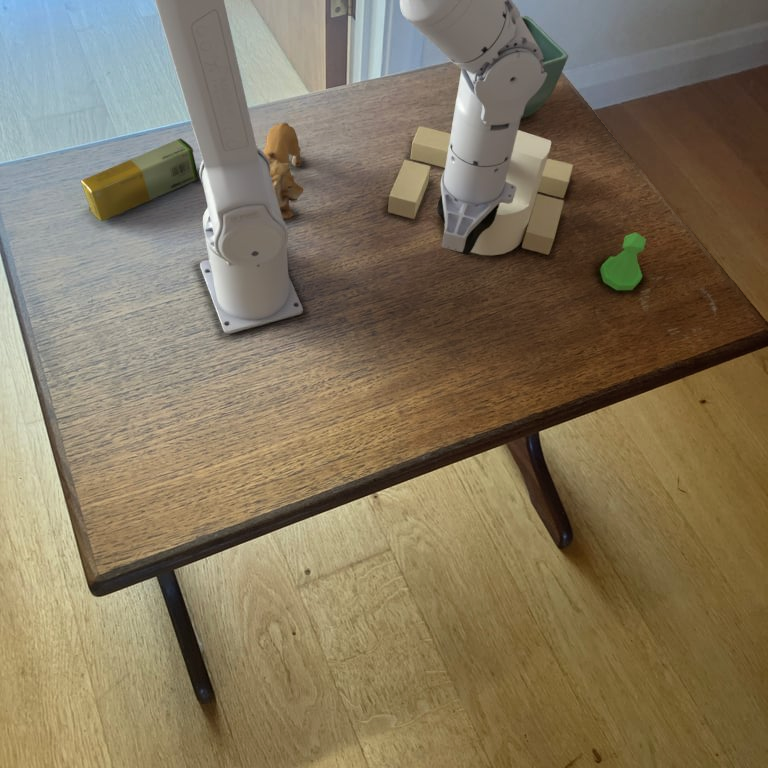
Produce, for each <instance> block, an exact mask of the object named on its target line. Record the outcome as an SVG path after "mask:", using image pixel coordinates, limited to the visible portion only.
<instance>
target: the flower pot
mask: <svg viewBox="0 0 768 768" xmlns="http://www.w3.org/2000/svg"><path fill="white" fill-rule="evenodd" d="M520 16H521V18H522V19H523V21H524V23H525V24H526V26H527V28H528V30H529V31H530V33H531V35H532V36H533V38H534V40H535V41H536V43H537V45H538V47H539V48H540V50H541V52H542V54H543V58H544V59H542V61H543V63H544V65H543V69H544V72H546V73H547V76H546V79H545V81H544V83H543V84H542V86H541V87H540V89H539V90H538V91H537V92H536V93H535V94H534V95H533V96H532V97H531V98H530V99H529V100H528V102H527V103H526V105H525V109H524V113H523V116H521V119H524V118H528V117H530V116H532V115H533V114H535V112H537V111H538V110H539V109H540V108H541V107H543V105H544V104H545V103H546V102H547V101H548V100H549V98H550V97H551V96H552V94H553V92H554V91H555V89H556V87H557V84H558V82H559V80H560V78H561V75H562V73H563V70H564V68H565V66H566V64H567V61H568V59H569V54H568V53H567V52H566V51H565V50H564V49H563V48H562V47H561V46H560V45H559V44H557V43H556V42H555V40H554V39H552V37H550V36H549V35H548V34H547V33H546V32H545V31H544V30H543V29H542V28H541V27H540V26H539V25H538V24H537V23H536V22H535V21H534V20H533V19H532V18H531V17H529V16H528V15H520Z"/></svg>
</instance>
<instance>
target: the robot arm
mask: <svg viewBox="0 0 768 768" xmlns="http://www.w3.org/2000/svg"><path fill="white" fill-rule="evenodd" d="M154 3H155V7H156V11H157V13H158V17H159V20H160V23H161V27H162V30H163V34H164V37H165V40H166V43H167V47H168V51H169V53H170V57H171V60H172V64H173V66H174V69H175V73H176V77H177V80H178V84H179V87H180V89H181V93H182V97H183V100H184V103H185V107H186V110H187V113H188V116H189V120H190V123H191V127H192V129H193V133H194V136H195V140H196V142H197V146H198V149H199V153H200V157H201V163H200V166H199V171H198V172H199V173H198V174H199V178H200V179H199V180H200V182H201V186H202V187H203V191H204V197H205V200H206V205H207V207H206V209H205V211H204V213H203V216H202V227H203V232H204V239H205V244H206V250H207V256H208V259H206V260H202V261H200V263H199V267H200V271H201V273H202V276H203V279H204V281H205V283H206V287H207V289H208V292H209V295H210V297H211V300H212V303H213V306H214V309H215V311H216V314H217V316H218V319H219V322H220V325H221V328H222V330H223V332H224V333H225V334H227V335H229V334H234V333H237V332H240V331H244V330H248V329H252V328H255V327H259V326H263V325H267V324H270V323H274V322H277V321H281V320H285V319H289V318H292V317H295V316H299V315H302V314H303V311H304V309H303V305H302V303H301V301H300V299H299V296H298V294H297V291H296V289H295V287H294V285H293V282H292V280H291V278H290V276H289V262H288V247H287V244H288V241H289V230H288V227H287V224H286V222H285V219H284V218H283V217H282V215H281V211H280V208H279V204H278V201H277V197H276V193H275V190H274V186H273V182H272V179H271V175H270V166H269V161H268V159H267V157H266V156H265V154H264V153H263V151H262V150H261V149H260V148H259V147H258V146H257V143H256V138H255V134H254V130H253V125H252V120H251V116H250V111H249V107H248V106H249V105H248V103H247V97H246V94H245V89H244V85H243V80H242V75H241V71H240V67H239V62H238V57H237V53H236V48H235V45H234V44H235V43H234V40H233V35H232V31H231V26H230V22H229V21H230V20H229V18H228V17H229V16H228V14H227V13H228V12H227V7H226V3H225V0H154ZM399 8H400V12H401V14H402V17H404V18H405V19H406V20H407V21H408V22H409V23H410V24H412V26H413V27H415V28H416V29H417V30H418V31H419V32H420V33H421V34H422V36H423V37H425V38H426V39H427V40H429V42H430V43H431V44H432V45H433V46H434V47H436V49H437V50H439V51H440V52H441V53H442V54H443V55H444V56H445V57H446V58H447V59H448V60H449V61H450V62H451V63H453V64H454V65H455V66H457V67H459V68H460V69H461V70H460V76H459V83H458V87H457V88H458V89H457V94H456V99H455V106H454V110H453V111H454V112H453V119H452V124H451V131H450V134H451V136H450V141H449V148H448V154H447V160H446V167H445V168H444V170H443V172H442V175H441V179H440V192H441V193H440V196H439V199H438V202H437V207H436V209H437V215H438V216H439V217H440V218H441V220H442V221H443V225H444V224H445V227H444V230H443V236H442V241H441V248H443V249H447V250H449V251H451V252H454V253H458V254H461V255H462V254H463V255H465V256H469V255H470V253H472V252H471V250H472V249H473V247H474V245H475V243H476V241H477V239H478V237H479V236H480V234H481V233H482V232H483V231H484V230H486V229H487V228H489V227H490V226H491V225H492V223H493V222H494V219H495V216H496V213H497V209H498V207H499V204H500V203H506V204H510V203H512V202H513V199H514V196H515V192H516V186H515V185H513V184H509V183H507V182H506V181H505V180H506V176H507V172H508V168H509V164H510V160H511V156H512V152H513V148H514V144H515V140H516V136H517V132H518V130H519V127H520V124H521V119H522V118H521V116H523V113H524V109H525V105H526V103H527V102H528V100H529V99H530V98H531V97H532V96H533V95H534V94H535V93H536V92H537V91H538V90H539V89H540V87H541V86H542V84H543V83H544V81H545V79H546V76H547V73H546V72H544V69H543V65H544V63H543V61H542V59H544V58H543V54H542V52H541V50H540V48H539V47H538V45H537V43H536V41H535V40H534V38H533V36H532V35H531V33H530V31H529V30H528V28H527V26H526V24H525V23H524V21H523V19H522V18H521V16H522V15H521V12H520V10H519V8H518V6H517V4H515V3H514V2H513V0H399Z"/></svg>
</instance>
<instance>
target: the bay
mask: <svg viewBox="0 0 768 768" xmlns="http://www.w3.org/2000/svg"><path fill="white" fill-rule="evenodd" d="M450 136H451V132H450V133H449V132H445V131H442V130H437V129H433V128H429V127H426V126H421V125H419V126H418V128H417V131H416V133H415V135H414V137H413V140H412V143H411V151H410V152H411V153H410V160H408V159H404V161H403V163H402V165H401V168H400V170H399V172H398V175H397V177H396V179H395V181H394V183H393V186H392V187H391V190H390V193H389V195H388V204H387V205H388V207H387V212H388V213H389V214H393V215H397V216H401V217H403V218H408V219H412V220H415V218H416V216H417V213H418V210H419V207H420V205H421V203H422V200H423V198H424V195H425V192H426V190H427V188H428V185H429V182H430V175H431V168H432V167H431V166H430V165H432V166H436V167H440V168H444V169H445V167H446V160H447V154H448V148H449V141H450ZM415 161H417V162H415ZM419 162H421V163H419ZM427 164H428V165H427ZM573 169H574V164H572V163H568V162H565V161H560V160H556V159H552V158H549V157H547V161H546V164H545V168H544V171H543V174H542V178H541V181H540V185H539V188H538V192H537V195H536V198H535V202H534V205H533V209H532V212H531V215H530V219H529V222H528V226H527V229H526V233H525V236H524V239H523V240H522V245H521V248H522V249H525V250H528V251H532V252H535V253H539V254H544V255H550V252H551V250H552V247H553V244H554V241H555V237H556V233H557V231H558V226H559V222H560V218H561V214H562V210H563V207H564V202H565V201H564V200H563V199H564V198H565V195H566V192H567V189H568V187H569V184H570V180H571V175H572V172H573ZM539 193H541V194H539ZM544 194H545V195H544ZM547 195H548V196H547ZM551 196H552V197H551Z"/></svg>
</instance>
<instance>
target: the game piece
mask: <svg viewBox="0 0 768 768" xmlns="http://www.w3.org/2000/svg"><path fill="white" fill-rule="evenodd" d="M646 243H647V238H645V237H644V236H642V235H641V234H639V233H638V232H635V231H634V232H632V233H630V234H627V235H625V236H624V238H623V243H622V246H621V248H622V249H623V250H622V251H620V252H619V253H618V254H617V255H616V256H609V258H607V259H606V260H605V262H604V263H602V264H601V266H600V269H599V271H600V275H601V279H602V282H603V283H604V284H605V285H607V286H609V287H611V288H612V289H613V290H615V291H633V290H634V288H636V287H637V286H638V284H639V283H641V280H642V279H643V273H642V270H641V268H640V264H639V263H638V254H640V253H642V252H644V249H645V245H646Z"/></svg>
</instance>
